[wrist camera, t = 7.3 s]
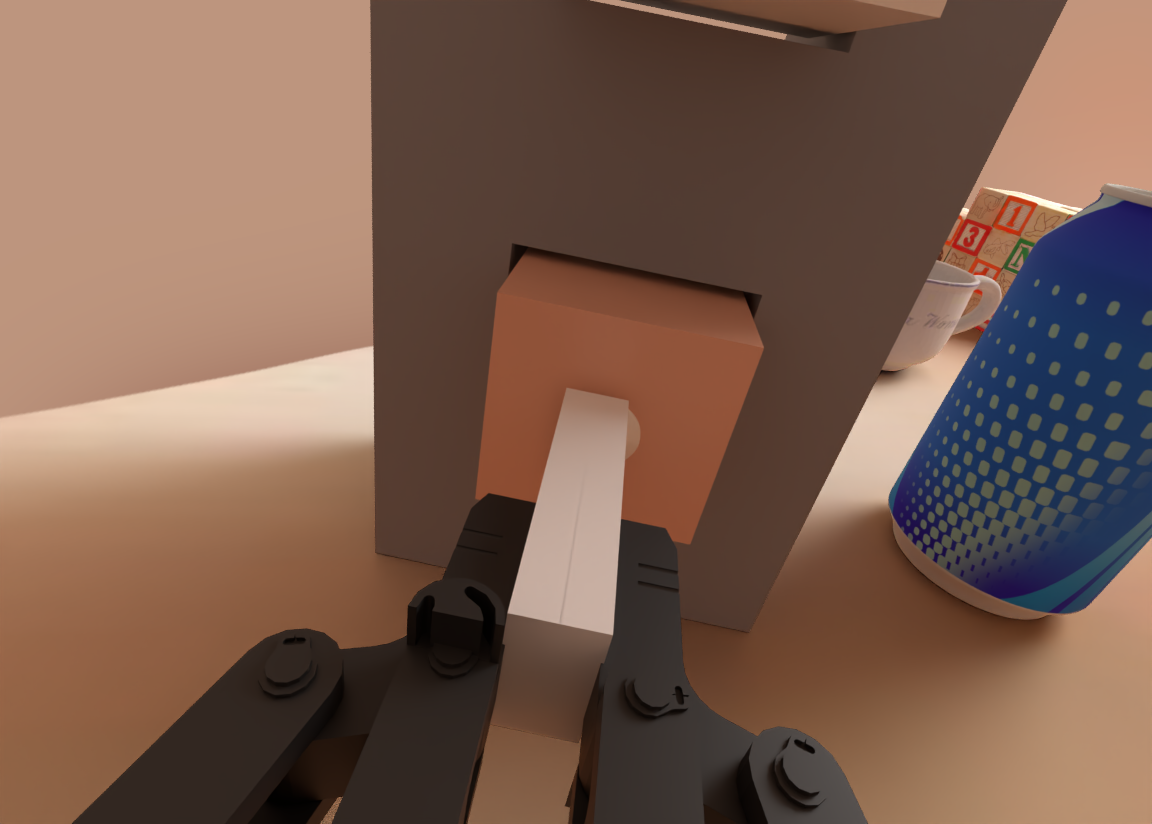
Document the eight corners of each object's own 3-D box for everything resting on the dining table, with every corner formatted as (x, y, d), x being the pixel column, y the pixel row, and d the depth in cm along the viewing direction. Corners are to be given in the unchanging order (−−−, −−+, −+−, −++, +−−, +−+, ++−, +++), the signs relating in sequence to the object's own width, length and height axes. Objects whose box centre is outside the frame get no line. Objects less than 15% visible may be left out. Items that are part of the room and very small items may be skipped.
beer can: (839, 517, 28) (1028, 168, 20) (940, 486, 32) (1132, 185, 24) (1011, 662, 22) (1380, 252, 14) (1108, 603, 26) (1440, 255, 18)
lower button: (690, 548, 16) (765, 350, 13) (474, 502, 16) (496, 294, 13) (679, 400, 23) (726, 249, 20) (529, 368, 23) (551, 213, 20)
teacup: (799, 365, 44) (844, 259, 39) (784, 313, 53) (818, 224, 49) (992, 411, 42) (1058, 308, 38) (941, 350, 52) (990, 262, 48)
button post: (749, 632, 22) (1436, -735, 7) (375, 552, 22) (362, -935, 8) (726, 495, 28) (1064, -354, 14) (442, 434, 28) (500, -464, 14)
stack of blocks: (863, 271, 72) (910, 164, 65) (901, 274, 74) (950, 171, 68) (1022, 354, 55) (1106, 222, 49) (1065, 354, 57) (1150, 228, 51)
